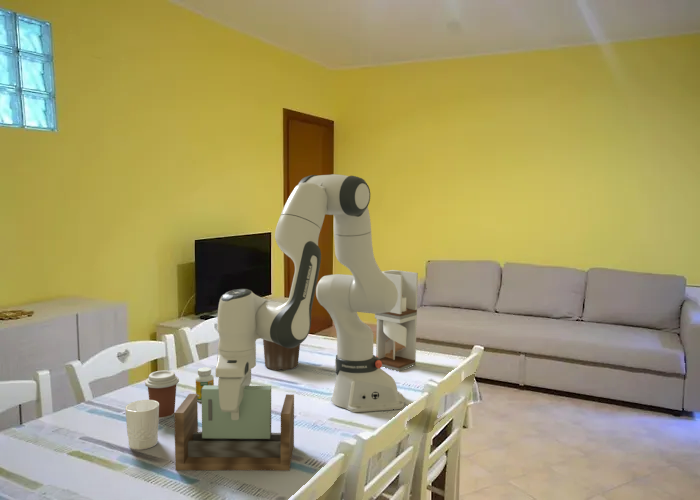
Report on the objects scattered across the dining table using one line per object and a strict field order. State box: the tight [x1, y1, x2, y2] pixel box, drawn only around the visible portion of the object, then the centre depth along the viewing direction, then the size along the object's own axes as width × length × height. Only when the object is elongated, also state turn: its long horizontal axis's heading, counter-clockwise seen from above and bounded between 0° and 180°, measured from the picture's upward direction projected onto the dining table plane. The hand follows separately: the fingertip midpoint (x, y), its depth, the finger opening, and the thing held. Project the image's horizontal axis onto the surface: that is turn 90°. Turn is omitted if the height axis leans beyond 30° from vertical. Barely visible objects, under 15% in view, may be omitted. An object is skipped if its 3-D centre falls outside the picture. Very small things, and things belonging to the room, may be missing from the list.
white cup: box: [125, 399, 160, 451], centre depth 136 cm, size 8×8×10 cm
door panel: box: [201, 384, 272, 439], centre depth 129 cm, size 16×3×12 cm, turn 91°
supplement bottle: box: [195, 367, 215, 403], centre depth 166 cm, size 5×5×10 cm
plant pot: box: [262, 339, 301, 371], centre depth 200 cm, size 16×16×16 cm
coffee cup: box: [144, 370, 180, 421], centre depth 154 cm, size 9×9×12 cm
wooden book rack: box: [173, 393, 295, 472], centre depth 129 cm, size 26×12×14 cm, turn 91°
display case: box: [374, 269, 419, 372], centre depth 202 cm, size 11×11×35 cm
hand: (237, 415), depth 129 cm, fingers closed on door panel, 2 cm apart
